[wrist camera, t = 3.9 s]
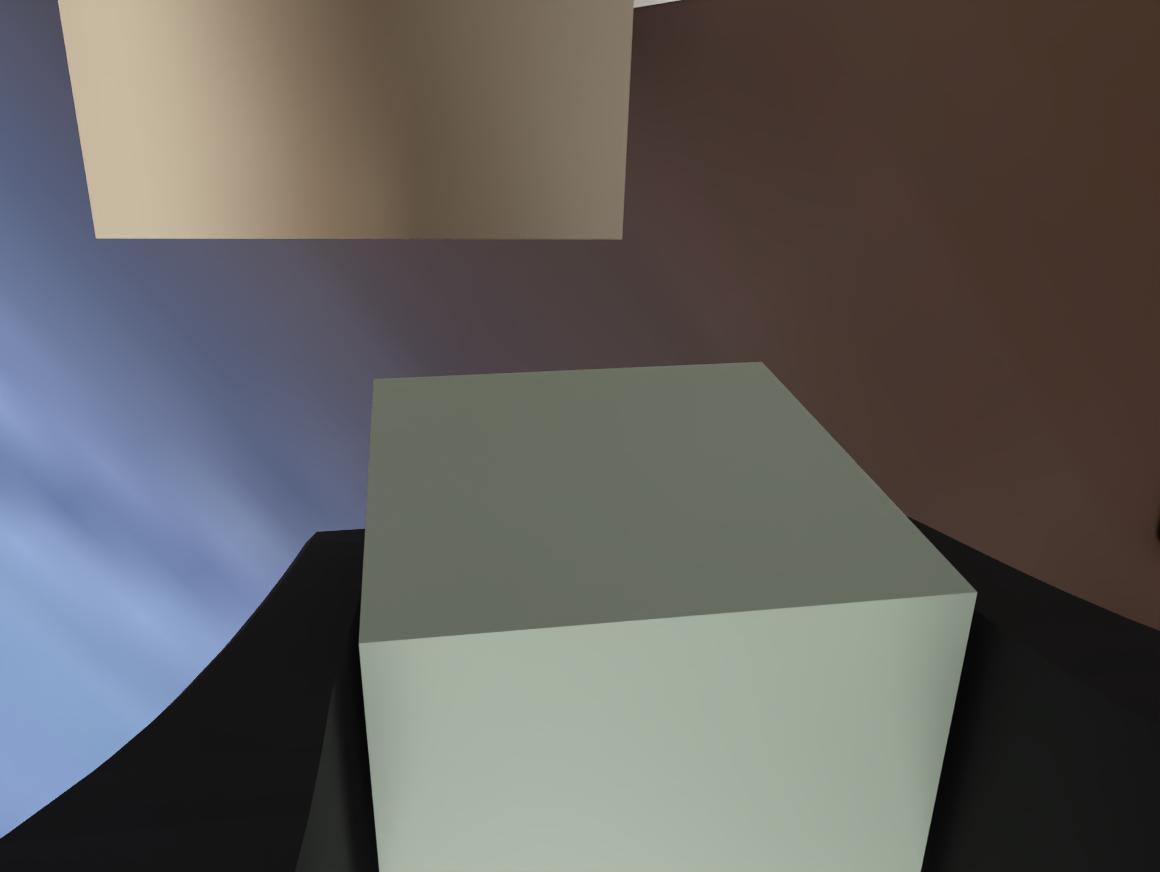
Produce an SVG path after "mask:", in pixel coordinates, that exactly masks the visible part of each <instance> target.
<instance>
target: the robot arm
mask: <svg viewBox="0 0 1160 872" xmlns="http://www.w3.org/2000/svg"><path fill="white" fill-rule="evenodd" d="M906 517H907V516H906ZM907 518H908V519H909V520H910V521H911V522H912V523H913V524H914V525H915V526H916V527H917V528H918V529H919V530H920V531H921V533H922V534H923V535H924V536H925V537H926V538H927V539H928V540H929V541H930V542H931V543H932V544H933V545H934V546H935V547H936V549H937V550H938V551H939V552H940V553H941V554H942V555H943V556H944V557H945V558H946V559H947V560H948V561H949V562H950V563H951V565H952V566H953V567H954V568H955V569H956V570H957V571H958V572H959V573H960V574H961V575H962V576H963V577H964V578H965V580H966V581H967V582H968V583H969V584H970V585H971V586H972V587H973V588H974V589H975V590H976V591H977V597H976V602H975V607H974V611H973V616H972V621H971V626H970V631H969V636H968V641H967V646H966V651H965V656H964V661H963V666H962V671H961V675H960V680H959V685H958V690H957V695H956V700H955V705H954V710H953V715H952V720H951V725H950V730H949V735H948V739H947V744H946V749H945V754H944V759H943V764H942V769H941V774H940V779H939V784H938V789H937V794H936V799H935V803H934V808H933V813H932V818H931V823H930V828H929V833H928V838H927V843H926V848H925V853H924V858H923V863H922V868H921V872H1160V631H1158V630H1156V629H1153V628H1151V627H1148V626H1146V625H1143V624H1140V623H1138V622H1135V621H1133V620H1130V619H1128V618H1125V617H1123V616H1120V615H1118V614H1116V613H1113V612H1111V611H1109V610H1106V609H1104V608H1102V607H1099V606H1097V605H1095V604H1092V603H1090V602H1088V601H1085V600H1083V599H1081V598H1078V597H1076V596H1074V595H1071V594H1069V593H1067V592H1064V591H1062V590H1060V589H1058V588H1056V587H1053V586H1051V585H1049V584H1047V583H1045V582H1042V581H1040V580H1038V579H1036V578H1034V577H1032V576H1029V575H1027V574H1025V573H1023V572H1021V571H1019V570H1017V569H1015V568H1013V567H1010V566H1008V565H1006V564H1004V563H1002V562H1000V561H998V560H996V559H994V558H992V557H990V556H988V555H986V554H984V553H981V552H979V551H977V550H975V549H973V548H971V547H969V546H967V545H965V544H963V543H961V542H959V541H957V540H955V539H953V538H951V537H949V536H947V535H945V534H943V533H941V532H939V531H937V530H935V529H933V528H930V527H928V526H926V525H924V524H922V523H920V522H918V521H916V520H914V519H912V518H909V517H907ZM364 542H365V529H355V530H340V531H324V532H316V533H315V534H314V535H313V536H312V537H311V538H310V539H309V540H308V541H307V542H306V544H305V545H304V547H303V548H302V550H301V551H300V552H299V554H298V555H297V557H296V558H295V559H294V561H293V562H292V564H291V565H290V566H289V568H288V569H287V571H286V572H285V573H284V575H283V576H282V577H281V579H280V580H279V581H278V583H277V584H276V585H275V587H274V588H273V589H272V590H271V592H270V593H269V594H268V596H267V597H266V598H265V600H264V601H263V602H262V603H261V604H260V606H259V607H258V608H257V609H256V611H255V612H254V613H253V614H252V615H251V617H250V618H249V619H248V620H247V621H246V623H245V624H244V625H243V626H242V627H241V629H240V630H239V631H238V632H237V634H236V635H235V636H234V637H233V638H232V640H231V641H230V642H229V643H228V644H227V645H226V646H225V648H224V649H223V650H222V651H221V652H220V653H219V654H218V655H217V656H216V657H215V658H214V659H213V660H212V661H211V663H210V664H209V665H208V666H207V667H206V668H205V669H204V670H203V671H202V672H201V673H200V674H199V675H198V676H197V677H196V678H195V679H194V681H193V682H192V683H191V684H190V685H189V686H188V687H187V688H186V689H185V690H184V691H183V692H182V693H181V694H180V695H179V696H178V697H177V698H176V699H175V700H174V701H173V702H172V703H171V704H170V705H169V706H168V707H167V708H166V709H165V710H164V711H163V712H162V713H161V714H160V715H159V716H158V717H157V718H156V719H155V720H154V721H152V722H151V723H150V724H149V725H148V726H147V727H146V728H144V729H143V730H142V731H141V732H140V733H139V734H137V735H136V736H135V737H134V738H133V739H132V740H130V741H129V742H128V743H127V744H126V745H125V746H123V747H122V748H121V749H120V750H119V751H117V752H116V753H115V754H114V755H113V756H112V757H110V758H109V759H108V760H107V761H105V762H104V763H103V764H102V765H100V766H99V767H98V768H97V769H95V770H94V771H93V772H92V773H90V774H89V775H87V776H86V777H85V778H83V779H82V780H81V781H79V782H78V783H77V784H75V785H74V786H72V787H71V788H70V789H68V790H67V791H66V792H64V793H63V794H61V795H60V796H59V797H57V798H56V799H55V800H53V801H52V802H50V803H49V804H48V805H46V806H45V807H44V808H42V809H41V810H39V811H38V812H37V813H35V814H34V815H33V816H31V817H30V818H29V819H27V820H26V821H24V822H23V823H22V824H20V825H19V826H18V827H16V828H15V829H13V830H12V831H11V832H9V833H8V834H7V835H5V836H4V837H2V838H1V839H0V872H379V862H378V851H377V840H376V829H375V818H374V807H373V796H372V785H371V774H370V763H369V752H368V741H367V730H366V719H365V707H364V696H363V685H362V674H361V663H360V652H359V630H360V612H361V594H362V577H363V559H364Z"/></svg>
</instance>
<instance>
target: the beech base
mask: <svg viewBox="0 0 1160 872" xmlns="http://www.w3.org/2000/svg"><path fill="white" fill-rule="evenodd" d="M58 4H59V10H60V16H61V23H62V29H63V35H64V41H65V48H66V54H67V60H68V66H69V73H70V79H71V85H72V91H73V98H74V104H75V110H76V116H77V122H78V129H79V135H80V141H81V147H82V154H83V160H84V166H85V172H86V179H87V185H88V191H89V197H90V204H91V210H92V216H93V222H94V229H95V235H96V238H167V239H622V231H623V211H624V191H625V170H626V150H627V129H628V109H629V88H630V68H631V48H632V27H633V7H634V0H58Z"/></svg>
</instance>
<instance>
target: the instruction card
mask: <svg viewBox="0 0 1160 872" xmlns="http://www.w3.org/2000/svg"><path fill="white" fill-rule="evenodd" d="M672 1H678V0H634V7H633V8H635V7H641V6H648V5H654V4H660V3H666V2H672Z"/></svg>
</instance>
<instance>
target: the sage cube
mask: <svg viewBox="0 0 1160 872" xmlns="http://www.w3.org/2000/svg"><path fill="white" fill-rule="evenodd" d="M976 597H977V591H976V590H975V589H974V588H973V587H972V586H971V585H970V584H969V583H968V582H967V581H966V580H965V578H964V577H963V576H962V575H961V574H960V573H959V572H958V571H957V570H956V569H955V568H954V567H953V566H952V565H951V563H950V562H949V561H948V560H947V559H946V558H945V557H944V556H943V555H942V554H941V553H940V552H939V551H938V550H937V549H936V547H935V546H934V545H933V544H932V543H931V542H930V541H929V540H928V539H927V538H926V537H925V536H924V535H923V534H922V533H921V531H920V530H919V529H918V528H917V527H916V526H915V525H914V524H913V523H912V522H911V521H910V520H909V519H908V518H907V517H906V515H905V514H904V513H903V512H902V511H901V510H900V509H899V508H898V507H897V506H896V505H895V504H894V503H893V502H892V501H891V499H890V498H889V497H888V496H887V495H886V494H885V493H884V492H883V491H882V490H881V489H880V488H879V487H878V486H877V484H876V483H875V482H874V481H873V480H872V479H871V478H870V477H869V476H868V475H867V474H866V473H865V472H864V471H863V470H862V468H861V467H860V466H859V465H858V464H857V463H856V462H855V461H854V460H853V459H852V458H851V457H850V456H849V455H848V454H847V452H846V451H845V450H844V449H843V448H842V447H841V446H840V445H839V444H838V443H837V442H836V441H835V440H834V439H833V438H832V436H831V435H830V434H829V433H828V432H827V431H826V430H825V429H824V428H823V427H822V426H821V425H820V424H819V423H818V422H817V420H816V419H815V418H814V417H813V416H812V415H811V414H810V413H809V412H808V411H807V410H806V409H805V408H804V407H803V405H802V404H801V403H800V402H799V401H798V400H797V399H796V398H795V397H794V396H793V395H792V394H791V393H790V392H789V391H788V389H787V388H786V387H785V386H784V385H783V384H782V383H781V382H780V381H779V380H778V379H777V378H776V377H775V376H774V375H773V373H772V372H771V371H770V370H769V369H768V368H767V367H766V366H765V365H764V364H763V363H762V362H748V363H725V364H703V365H680V366H658V367H635V368H613V369H590V370H568V371H545V372H523V373H501V374H478V375H456V376H433V377H411V378H388V379H374V384H373V401H372V419H371V436H370V454H369V472H368V489H367V507H366V524H365V542H364V559H363V577H362V594H361V612H360V630H359V652H360V663H361V674H362V685H363V696H364V707H365V719H366V730H367V741H368V752H369V763H370V774H371V785H372V796H373V807H374V818H375V829H376V840H377V851H378V862H379V872H921V868H922V863H923V858H924V853H925V848H926V843H927V838H928V833H929V828H930V823H931V818H932V813H933V808H934V803H935V799H936V794H937V789H938V784H939V779H940V774H941V769H942V764H943V759H944V754H945V749H946V744H947V739H948V735H949V730H950V725H951V720H952V715H953V710H954V705H955V700H956V695H957V690H958V685H959V680H960V675H961V671H962V666H963V661H964V656H965V651H966V646H967V641H968V636H969V631H970V626H971V621H972V616H973V611H974V607H975V602H976Z"/></svg>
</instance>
